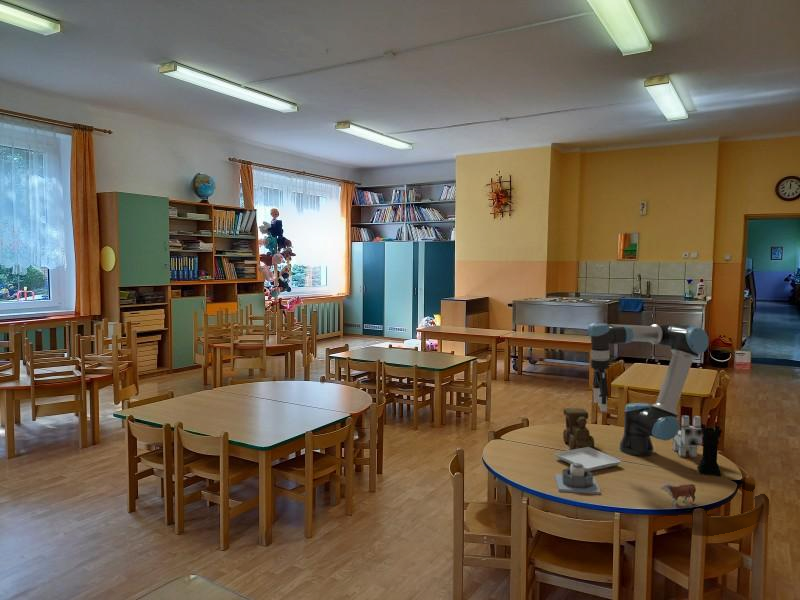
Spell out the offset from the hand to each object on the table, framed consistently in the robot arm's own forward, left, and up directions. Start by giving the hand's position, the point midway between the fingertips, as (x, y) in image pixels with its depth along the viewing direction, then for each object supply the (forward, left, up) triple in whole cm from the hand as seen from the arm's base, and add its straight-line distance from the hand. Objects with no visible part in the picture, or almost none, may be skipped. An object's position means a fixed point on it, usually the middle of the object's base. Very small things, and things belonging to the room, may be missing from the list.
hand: (600, 406), depth 253 cm
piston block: (+12, +22, -28) cm, 37 cm away
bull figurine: (-24, +33, -28) cm, 49 cm away
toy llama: (-44, -26, -28) cm, 58 cm away
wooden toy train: (+5, -29, -28) cm, 41 cm away
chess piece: (-47, -4, -28) cm, 55 cm away
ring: (+12, +22, -27) cm, 36 cm away
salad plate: (+4, -5, -28) cm, 29 cm away
